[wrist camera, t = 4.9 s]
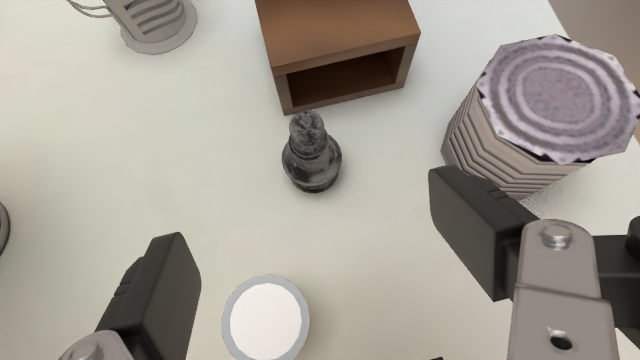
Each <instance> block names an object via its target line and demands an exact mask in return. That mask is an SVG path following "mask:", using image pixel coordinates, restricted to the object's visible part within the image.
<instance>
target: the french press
mask: <svg viewBox="0 0 640 360" xmlns="http://www.w3.org/2000/svg"><path fill="white" fill-rule="evenodd" d="M67 1H68V2H69V3H70V4H71V5H72V6H73V7H74V8H75V9H76V10H78V11H79V12H81V13H82V14H84V15H87V16H89V17H95V18H105V17H111V16H113V17H114V18H115V20H116V21H117V22H118V23H119V25H120V26H121V36H122V38H123V40H124V41H125V43H126V45H127V46H129V47H130V48H132V49H133V50H135V51H137V52H139V53H145V54H151V55H154V54H159V53H165V52H169V51H171V50H173V49H174V48H176V47H178V46H180V45H182V44H183V43H184V42H185V41H186V40H187V39H188V37H189V36H190V35H191V34H192V33H193V30H194V27H195V25H196V22H197V17H196V9H195V7H194V6H193V4H192V3H191V2H190V0H103V1H104V2H105V4H106V5H107V6H108V7H107V6H97V7H86V6H81V5H79V4H77V3H75V2H73V1H71V0H67ZM76 6H77V7H76ZM78 7H80V8H82V9H89V10H94V9H100V8H106V9H107V10H108V11H109V12H110V13H111V14H108V15H101V16H98V15H90V14H88V13H86V12H84V11H82V10H81V9H79V8H78Z"/></svg>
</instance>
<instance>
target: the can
mask: <svg viewBox="0 0 640 360" xmlns="http://www.w3.org/2000/svg"><path fill="white" fill-rule="evenodd" d="M639 119H640V95H639V93H638V92H637V90H636V88H635V87H634V85H633V84H632V82H631V81H630V79H629V78H628V76H627V75H626V73H625V72H624V70H623V69H622V67H621V65H620V64H619V62H618V61H617V59H616V58H615V56H612V55H610V54H607V53H605V52H602V51H599V50H597V49H594V48H591V47H589V46H586V45H583V44H580V43H578V42H575V41H572V40H570V39H567V38H565V37H562V36H559V35H557V34H553V35H548V36H544V37H539V38H534V39H529V40H525V41H523V40H522V41H520V42H515V43H510V44H506V45H501V46H500V47H499V49H498V50H497V52H496V53H495V55H494V57H493V58H492V60H490V61H489V63H488V64H487V66H486V67H485V69H484V70H483V72H482V73H481V75H480V76H479V78H478V79H477V81H476V82H475V84H474V86H473V87H472V89H471V90H470V92H469V93H468V95H467V96H466V98H465V99H464V101H463V102H462V104H461V105H460V107H459V108H458V110H457V111H456V113H455V115H454V116H453V118H452V119H451V121H450V122H449V124H448V128H447V131H446V134H445V138H444V141H443V144H442V148H441V153H442V155H443V158H444V160H445V163H446V165H450V164H455V165H456V166H457V167H459V168H460V169H461V170H462V171H463V172H465V173H466V174H467V175H468V176H469V175H473V174H474V175H477V176H479V177H482V178H485V179H488V180H490V181H491V182H492V183H494V184H495V185H496V186H498V187H499V188H500V190H503V191H504V192H505V193H507V194H508V195H509V197H512V198H513V199H515V200H516V201H519V200H521V199H522V198H524V197H526V196H528V195H530V194H532V193H534V192H536V191H538V190H540V189H542V188H543V187H545V186H547V185H549V184H551V183H553V182H555V181H557V180H559V179H561V178H563V177H564V176H566V175H568V174H570V173H572V172H574V171H576V170H578V169H580V168H582V167H584V166H585V165H587V164H589V163H591V162H592V161H594V160H595V159H596V158H598V157H603V156H607V155H612V154H617V153H622V152H625V150H626V148H627V146H628V144H629V141H630V139H631V137H632V135H633V132H634V130H635V128H636V126H637V123H638V121H639Z"/></svg>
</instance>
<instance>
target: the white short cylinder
mask: <svg viewBox="0 0 640 360" xmlns="http://www.w3.org/2000/svg"><path fill="white" fill-rule="evenodd" d="M221 321H222V335H223V339H224V341H225V343H226V346H227V348H228V350H229V352H230V354H231V355H232V356H233V357H235V358H236V359H237V360H292V359H293V358H295V357H296V356H297V354H298V353H299V351H300V350H301V348H302V347H303V345H304V344H305V342H306V340H307V335H308V331H309V326H310V316H309V309H308V304H307V302H306V300H305V298H304V297H303V295H302V293H301V291H300V290H299V288H297V287H296V286H295V285H294V284H292V283H291V282H290V281H288V280H287V279H286V278H282V277H278V276H274V275H270V274H268V275H262V276H256V277H252V278H250V279H249V280H247V281H246V282H244V283H242V284H241V285H239V286H238V287H237V288H236V289H235V291H234V292H233V293H232V295H231V296H230V297H229V299H228V300H227V301H226V305H225V308H224V312H223V315H222V318H221Z"/></svg>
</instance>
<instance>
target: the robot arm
mask: <svg viewBox="0 0 640 360" xmlns="http://www.w3.org/2000/svg"><path fill="white" fill-rule="evenodd" d="M428 182H429V197H430V211H431V216H432V220H433V223H434V225H435V227H436V229H437V230H438V231H439V233H440V234H441V235H442V237H443V238H444V239H445V240H446V242H447V243H448V244H449V246H450V247H451V248H452V249H453V251H454V252H455V253H456V255H457V256H458V257H459V258H460V260H461V261H462V262H463V264H464V265H465V266H466V267H467V269H468V270H469V271H470V273H471V274H472V275H473V276H474V278H475V279H476V280H477V282H478V283H479V284H480V285H481V287H482V288H483V289H484V291H485V292H486V293H487V294H488V296H489V297H490V298H491V300H492V301H493V302H496V301H500V300H504V299H507V298H509V299H510V300H511V301H512V302H513V309H512V318H511V327H510V336H509V344H508V353H507V360H620V358H619V352H618V346H617V339H616V333H615V328H618V329H619V330H620V331H621V332H622V333H623V334H624V335H625V336H626V337H627V338H628V339H629V340H630V341H631V342H632V343H634V344H635V345H636V346H637V347H638V348H639V349H640V216H638V217H635V218H634V219H632V220H631V222H630V224H629V228H628V233H627V235H603V236H591V234H590V233H589V232H588V231H586V230H585V229H584V228H582V227H580V226H578V225H576V224H574V223H571V222H567V221H563V220H557V219H539V218H538V217H537V216H535V215H534V214H533V213H531V212H530V211H529V210H528V209H526V208H525V207H524V206H522V205H521V204H520V203H518V202H517V201H516V200H515V199H513V198H512V197H509V195H508V194H507V193H505V192H504V191H503V190H500V188H499V187H498V186H496V185H495V184H494V183H492V182H491V181H490V180H488V179H485V178H482V177H479V176H477V175H474V174H473V175H469V176H468V175H467V174H466V173H465V172H463V171H462V170H461V169H460V168H459V167H457V166H456V165H455V164H450V165H446V166H442V167H438V168H434V169H430V170H429V173H428ZM8 228H9V223H8V217H7V213H6V211H5V209H4V207H3V206H2V205H1V204H0V252H1V251H2V249H3V247H4V244H5V242H6V239H7V235H8ZM200 292H201V276H200V272H199V270H198V267H197V265H196V263H195V261H194V258H193V256H192V254H191V252H190V250H189V248H188V245H187V243H186V241H185V239H184V237H183V235H182V234H181V233H180V232H175V233H171V234H167V235H163V236H159V237H155V238H153V239H152V241H151V243H150V245H149V247H148V249H147V251H146V253H145V255H144V257H140V258H138V259H137V260H136V261H135V262H134V263H133V264H132V265H131V266H130V267H129V269H128V270H127V271H126V272H125V274H124V276H123V278H122V280H121V282H120V286H118V288H117V290H116V291H115V293H114V297H112V299H111V301H110V303H109V305H108V307H107V309H106V311H105V312H104V314H103V316H102V318H101V320H100V322H99V324H98V326H97V328H96V330H95V332H94V333H92V334H90V335H88V336H86V337H84V338H82V339H81V340H79V341H78V342H76V343H75V344H74V345H72V346H71V347H70V348H69V349H68V350H67V351H66V352H65V353H64V354H63V355H62V356H61V357H60V358H59V360H185V359H186V354H187V350H188V346H189V341H190V337H191V332H192V328H193V323H194V319H195V314H196V310H197V305H198V301H199V297H200ZM431 360H443V358H442V357H439V358H435V359H431Z"/></svg>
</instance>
